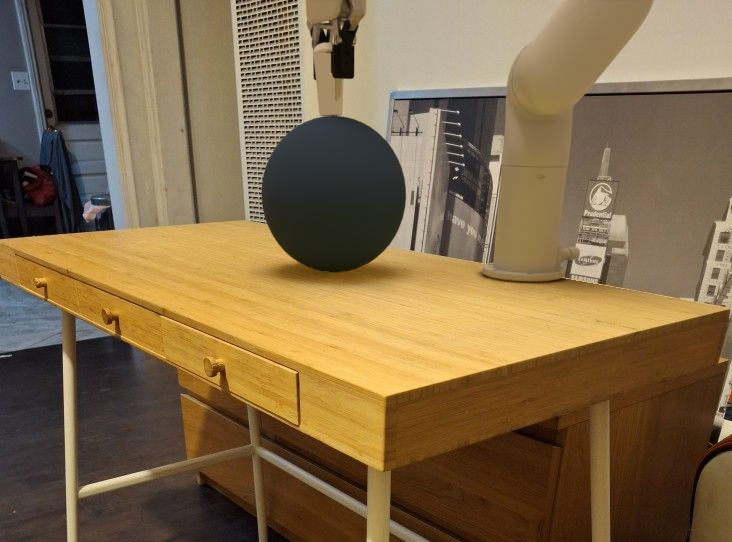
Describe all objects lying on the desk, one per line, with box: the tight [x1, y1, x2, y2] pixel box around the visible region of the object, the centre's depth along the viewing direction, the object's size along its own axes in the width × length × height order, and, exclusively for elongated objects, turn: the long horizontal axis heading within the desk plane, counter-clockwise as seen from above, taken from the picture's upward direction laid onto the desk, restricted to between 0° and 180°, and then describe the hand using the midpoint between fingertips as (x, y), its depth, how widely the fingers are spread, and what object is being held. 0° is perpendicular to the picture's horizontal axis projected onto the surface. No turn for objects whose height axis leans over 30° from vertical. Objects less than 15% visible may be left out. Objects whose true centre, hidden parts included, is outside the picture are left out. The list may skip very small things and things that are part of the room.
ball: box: [260, 115, 407, 274], centre depth 115 cm, size 22×22×22 cm
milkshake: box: [312, 42, 345, 117], centre depth 108 cm, size 5×5×10 cm
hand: (333, 78), depth 108 cm, fingers open, 5 cm apart
